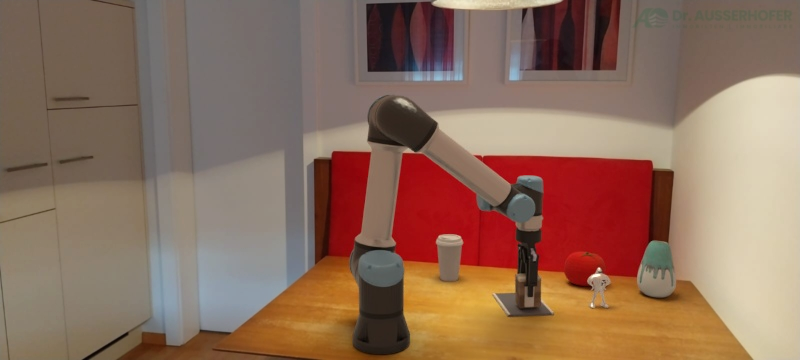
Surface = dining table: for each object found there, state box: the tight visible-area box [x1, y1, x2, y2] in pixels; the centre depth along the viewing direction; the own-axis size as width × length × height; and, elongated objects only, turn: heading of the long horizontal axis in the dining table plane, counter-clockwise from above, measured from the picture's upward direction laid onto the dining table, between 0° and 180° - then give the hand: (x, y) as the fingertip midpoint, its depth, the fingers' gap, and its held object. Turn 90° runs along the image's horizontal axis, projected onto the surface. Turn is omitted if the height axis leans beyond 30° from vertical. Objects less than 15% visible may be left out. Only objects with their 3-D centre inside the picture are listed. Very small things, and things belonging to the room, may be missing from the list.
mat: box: [492, 292, 555, 318], centre depth 182 cm, size 18×14×1 cm
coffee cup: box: [435, 233, 464, 282], centre depth 206 cm, size 10×10×15 cm
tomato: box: [563, 251, 606, 287], centre depth 200 cm, size 12×14×11 cm
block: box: [514, 273, 542, 308], centre depth 177 cm, size 5×7×9 cm
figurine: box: [587, 268, 611, 309], centre depth 180 cm, size 7×4×12 cm, turn 94°
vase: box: [636, 240, 677, 298], centre depth 190 cm, size 12×12×18 cm
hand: (526, 303), depth 178 cm, fingers closed on block, 4 cm apart
